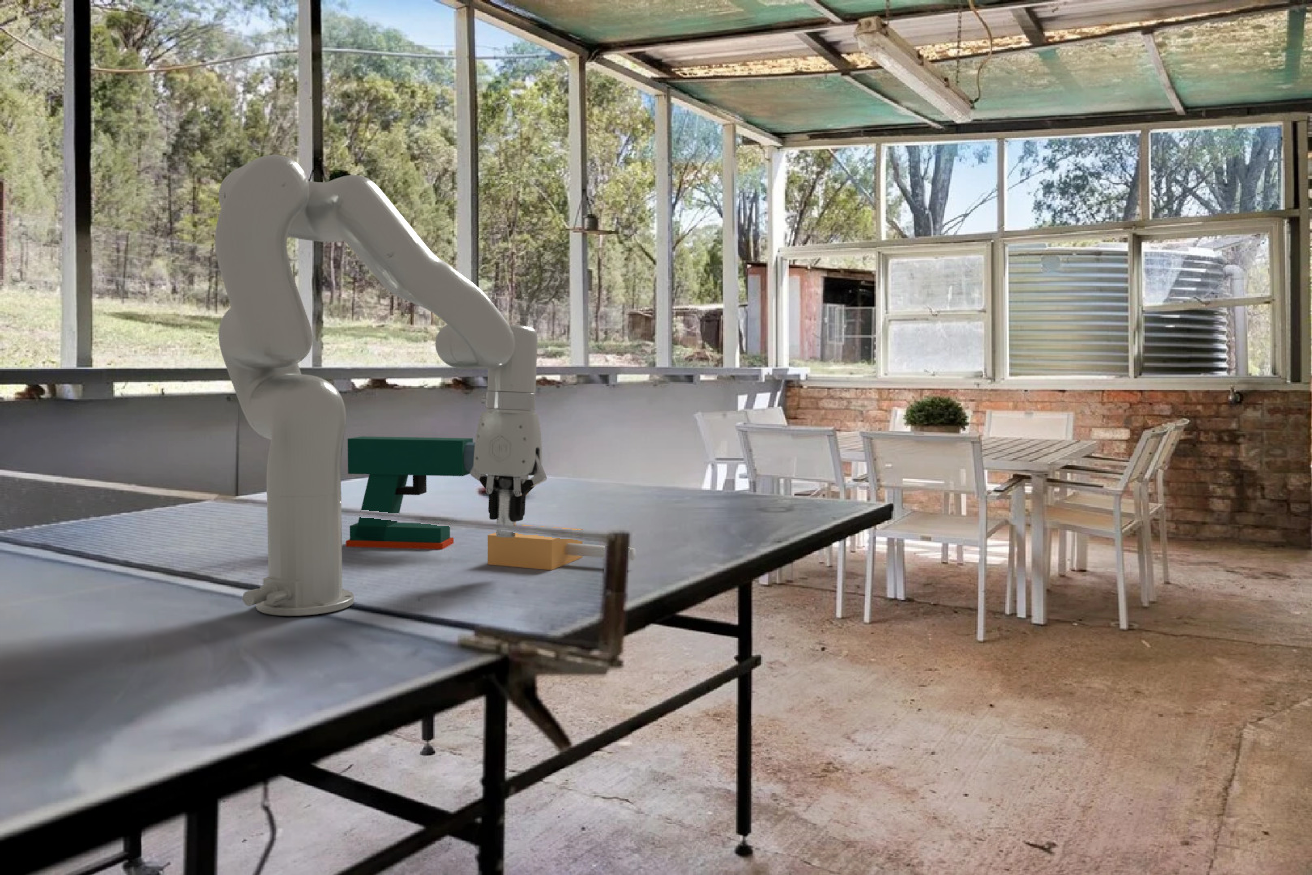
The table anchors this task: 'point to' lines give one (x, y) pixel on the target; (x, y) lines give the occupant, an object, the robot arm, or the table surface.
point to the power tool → (403, 485)
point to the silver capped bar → (504, 504)
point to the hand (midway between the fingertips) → (506, 518)
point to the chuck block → (540, 551)
